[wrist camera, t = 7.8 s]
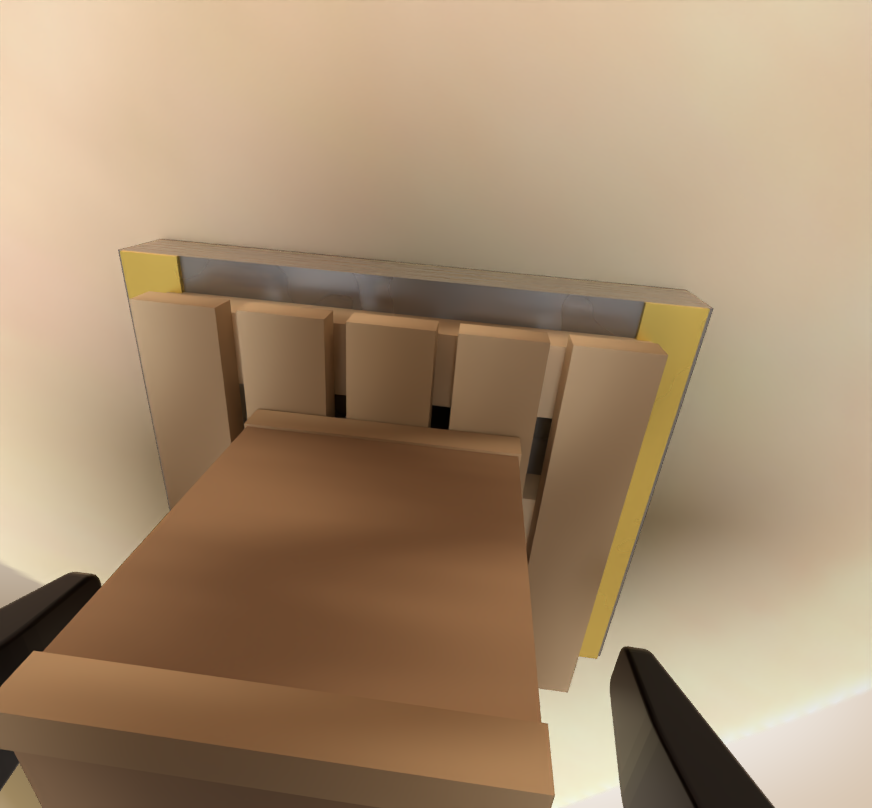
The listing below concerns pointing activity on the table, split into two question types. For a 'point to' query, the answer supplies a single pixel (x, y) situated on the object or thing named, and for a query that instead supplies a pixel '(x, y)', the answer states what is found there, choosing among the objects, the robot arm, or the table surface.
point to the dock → (467, 301)
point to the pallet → (421, 413)
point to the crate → (304, 637)
